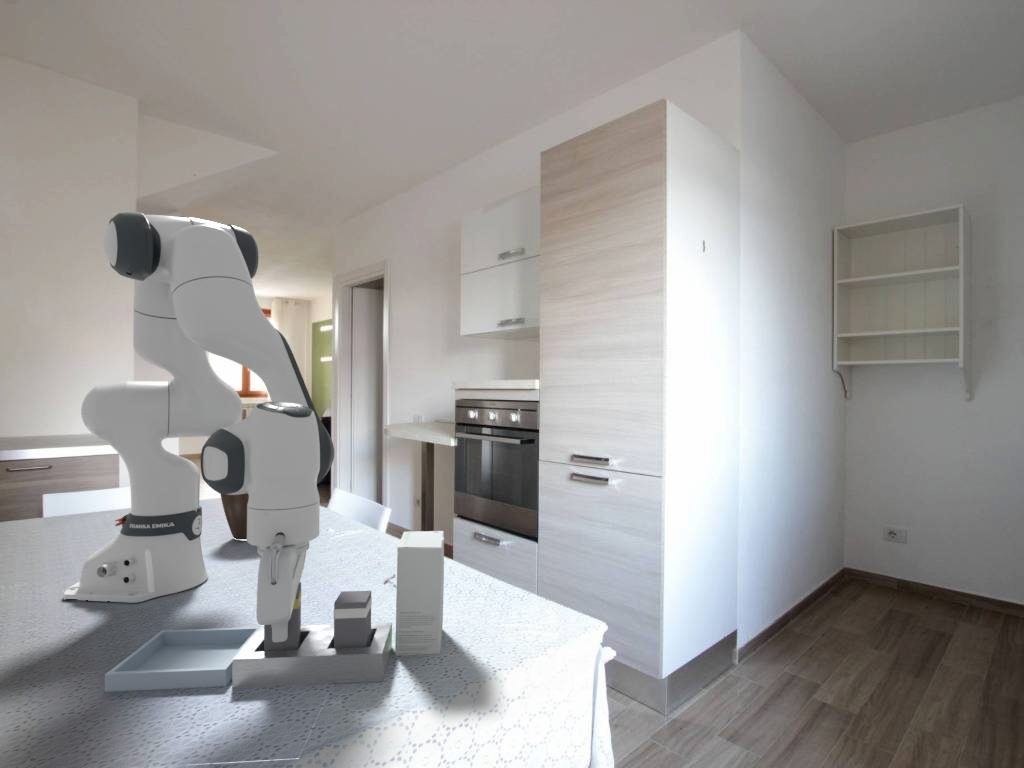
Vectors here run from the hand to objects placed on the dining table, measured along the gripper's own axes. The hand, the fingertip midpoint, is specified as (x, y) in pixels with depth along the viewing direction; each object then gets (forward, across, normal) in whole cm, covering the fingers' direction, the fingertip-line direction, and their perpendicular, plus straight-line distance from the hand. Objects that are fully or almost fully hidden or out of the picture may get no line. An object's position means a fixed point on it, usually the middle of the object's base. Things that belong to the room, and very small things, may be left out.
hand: (283, 630), depth 70 cm
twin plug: (+5, -2, -9) cm, 10 cm away
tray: (+5, +4, +12) cm, 14 cm away
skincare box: (+6, +2, -18) cm, 19 cm away
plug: (+4, 0, 0) cm, 4 cm away
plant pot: (+6, +73, +16) cm, 75 cm away
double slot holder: (+5, -1, -4) cm, 7 cm away
